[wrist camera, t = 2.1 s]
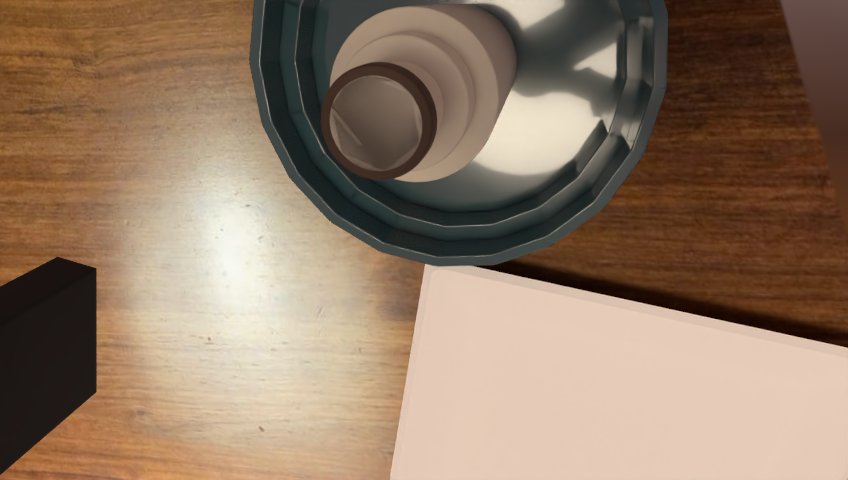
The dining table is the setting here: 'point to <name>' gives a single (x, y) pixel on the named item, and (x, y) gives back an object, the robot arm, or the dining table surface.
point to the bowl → (509, 141)
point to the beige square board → (608, 390)
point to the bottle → (418, 91)
